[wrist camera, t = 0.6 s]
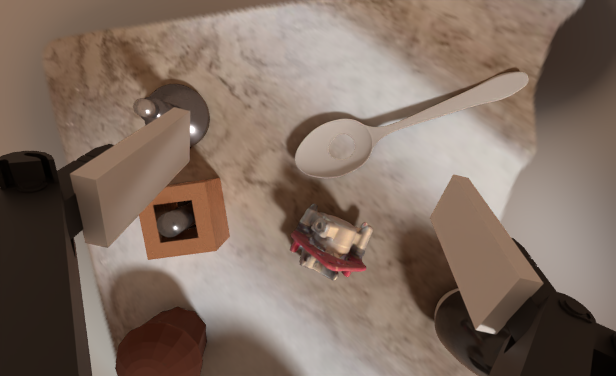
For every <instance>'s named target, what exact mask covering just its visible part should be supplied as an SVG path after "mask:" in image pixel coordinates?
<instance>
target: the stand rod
mask: <svg viewBox="0 0 616 376" xmlns="http://www.w3.org/2000/svg"><path fill="white" fill-rule="evenodd" d="M195 223H196V221H195V215H194V210H193V204H192V202H191V203H188V204H186V205H184V206H181V207H179V208H177V209H174V210H172V211H170V212H167V213H165V214H163V215H161V216H160V217H159V218H158V220H157V229H158V231H159V233H160V234H162V235H163V236H165V237H174V236H176V235H178V234H179V233H181V232H182V231H184V230H185V229H187V228H189V227H190V226H192V225H193V224H195Z"/></svg>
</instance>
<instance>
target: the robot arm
mask: <svg viewBox="0 0 616 376" xmlns="http://www.w3.org/2000/svg"><path fill="white" fill-rule="evenodd" d="M189 161H190V111H188V110H184V109H180V108H176V107H174V108H172V109H171V110H169V111H168V112H166V113H165V114H163V115H161V116H160V117H158V118H157V119H155V120H154V121H152V122H150V123H149V124H147V125H146V126H144V127H143V128H141V129H139V130H138V131H136V132H135V133H133V134H132V135H130V136H128V137H127V138H125V139H124V140H122V141H121V142H119V143H118V144H116V145H112V144H108V145H104V146H101V147H97V148H95V149H93V150H91V151H90V152H88V153H86V154H85V156H84V155H83V156H81V157H80V158H78V159H77V161H73V162H71V163H70V164H68V165H66V166H65V167H63V168H61V169H60V170H58V171H57V170H56V166H55V162H54V159H53V157H52V156H51V155H49V154H47V153H45V152H39V151H21V152H13V153H10V154H6V155H3V156H1V157H0V376H92V371H91V363H90V354H89V348H88V339H87V331H86V323H85V316H84V308H83V300H82V292H81V284H80V277H79V269H78V261H77V253H76V246H75V242H74V237H75V236H76V235H77V234H78V233H79V232H80V231H82V230H83V234H84V238H85V243H89V244H93V245H98V246H102V247H107V248H108V247H109V246H110V245H111V244H112V243H113V242H114V241H115V240H116V239H117V238H118V237H119V236H120V234H121V233H122V232H123V231H124V230H125V229H126V228H127V227H128V226H129V225H130V224H131V223H132V222H133V221H134V220H135V219H136V218H137V216H138V215H139V214H140V213H141V212H142V211H143V210H144V209H145V208H146V207H147V206H148V205H149V204H150V203H151V202H152V201H153V200H154V198H155V197H156V196H157V195H158V194H159V193H160V192H161V191H162V190H163V189H164V188H165V187H166V186H167V185H168V184H169V183H170V182H171V180H172V179H173V178H174V177H175V176H176V175H177V174H178V173H179V172H180V171H181V170H182V169H183V168H184V167H185V166H186V165H187V164H188V162H189ZM430 219H431V222H432V224H433V227H434V229H435V232H436V234H437V237H438V239H439V241H440V244H441V246H442V249H443V251H444V254H445V256H446V259H447V261H448V264H449V266H450V268H451V271H452V273H453V276H454V278H455V281H456V283H457V286H458V288H459V291H460V293H461V295H462V298H463V300H464V303H465V305H466V308H467V310H468V313H469V315H470V318H471V320H472V322H473V325H474V327H475V330H478V331H482V332H487V333H491V334H497V333H498V332H499V331H500V330H501V329H502V328H503V327H504V326H505V325H507V327H508V329H509V331H510V333H511V335H510V336H509V337H508V338H507V339H506V340H505V341H504V342H503V343H502V344H501V345H500V346H499V347H498V348H497V349H496V350H495V351H494V352H493V353H495V354H496V355H497V354H498V353H499V354H498V356H497V359H496V361H495V363H494V365H493V367H492V369H491V372H490V374H489V376H616V331H613V330H611V329H609V328H606V327H604V326H602V325H600V324H598V323H596V320H595V318H594V317H593V315H592V314H591V312H590V311H589V310H587V308H586V307H584V306H583V305H582V304H581V303H579V302H578V301H576V300H575V299H573V298H572V297H570V296H568V295H565V294H562V293H559V292H556V290H555V289H554V287H553V286H552V285H551V283H550V282H549V281H548V279H547V278H546V277H545V275H544V274H543V273H542V271H541V270H540V269H539V267H537V264H536V263H535V262H534V260H533V259H531V257H530V255H529V254H528V252H527V251H526V250H525V248H524V247H523V246H522V245H520V244H519V243H518V242H517V241H516V240H515V239H514V238H511V237H510V236H509V234H508V233H507V231H506V230H505V229H504V227H503V226H502V224H501V223H500V222H499V220H498V219H497V217H496V216H495V215H494V213H493V212H492V210H491V209H490V208H489V206H488V205H487V203H486V202H485V201H484V199H483V198H482V196H481V195H480V194H479V192H478V191H477V189H476V188H475V187H474V185H473V184H472V182H471V181H470V180H469V178H466V177H462V176H458V175H453V176H452V178H451V180H450V182H449V184H448V185H447V187H446V189H445V191H444V193H443V195H442V196H441V198H440V200H439V202H438V204H437V206H436V208H435V209H434V211H433V213H432V215H431V217H430Z"/></svg>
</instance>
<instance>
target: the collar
mask: <svg viewBox="0 0 616 376" xmlns="http://www.w3.org/2000/svg"><path fill="white" fill-rule="evenodd" d="M187 200H192V204H193V210H194V215H195V221H196V227H197V228H190V229H185V230H184V231H182V232H181V233H179V234H178V235H176V236H174V237H165V236H163V235H162V234H160V233H159V231H158V229H157V220H158V218H159V217H160V216H161V215H163V214H165V213H167V212H170V211H172V210H174V209H177V208H178V205H177V202H180V201H187ZM139 217H140V222H141V227H142V232H143V237H144V242H145V247H146V252H147V257H148V260H150V259H158V258H166V257H173V256H181V255H188V254H196V253H204V252H211V251H217V250H218V249H219V247H220V246H221V245H222V244H223V243H224V242H225V241H226V240H227V239H228V238H229V237H230V234H229V228H228V222H227V216H226V210H225V205H224V199H223V193H222V187H221V181H220V178H215V179H207V180H200V181H193V182H185V183H178V184H170V185H167V186H166V187H165V188H164V189H163V190H162V191H161V192H160V193H159V194H158V195H157V196H156V197H155V198H154V200H153V201H152V202H151V203H150V204H149V205H148V206H147V207H146V208H145V209H144V210H143V211H142V212H141V213H140V214H139Z"/></svg>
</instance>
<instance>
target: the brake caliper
mask: <svg viewBox="0 0 616 376" xmlns="http://www.w3.org/2000/svg"><path fill="white" fill-rule="evenodd" d="M317 207H318V206H317V205H316V204H312V205H311V206H310V207H309V208H308V209H307V210H306V212H305V214H304V215H303V217H302V218H301V220H300V222H299V224H298V226H297V228H296V229H295V230H294V232H292V233H291V237H292V238H293V239H294V242H293V244H292V246H291V248H290V251H291V252H296V251H297V250H299V249H302V254H301V257H300V265H301V266H304V267H307V268H310V269H313V270H315V271H317V272H319V273H320V274H322V275H324V276H326V277H328V278H330V279H332V280H336V279H337V277H338V271H342V273H343V274H344V276H346V277H349V276H350V274H351V272H354V271H365V270H366V266H365V265H364V264H363V262H362V256H363V255H364V252H365V249H366V246H367V244H368V241H369V239H370V236H371V234H372V231H373V228H372V227H371V226H369V225H368V224H367V223H363V224H362V226H361V228H358V227H355V226H353V225H352V224H350V223H349V222H347V221H345V220H342V219H340V218H338V217H335V216H332V215H327V214H326V213H319V212H318V211H317Z"/></svg>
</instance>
